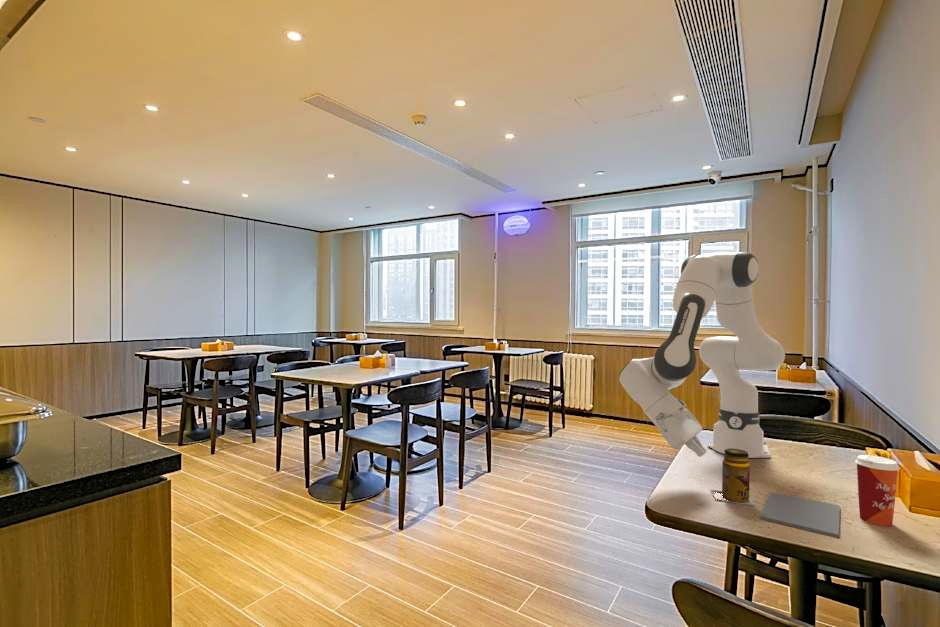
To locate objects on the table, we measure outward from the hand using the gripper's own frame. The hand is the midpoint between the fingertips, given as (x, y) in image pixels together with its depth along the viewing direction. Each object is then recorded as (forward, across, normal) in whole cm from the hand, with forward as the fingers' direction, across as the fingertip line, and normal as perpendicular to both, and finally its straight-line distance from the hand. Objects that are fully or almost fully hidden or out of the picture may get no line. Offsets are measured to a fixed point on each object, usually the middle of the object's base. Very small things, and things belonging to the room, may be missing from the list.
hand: (703, 454), depth 125 cm
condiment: (+12, 0, +2) cm, 12 cm away
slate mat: (+22, 0, -8) cm, 23 cm away
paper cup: (+31, +6, -18) cm, 36 cm away
